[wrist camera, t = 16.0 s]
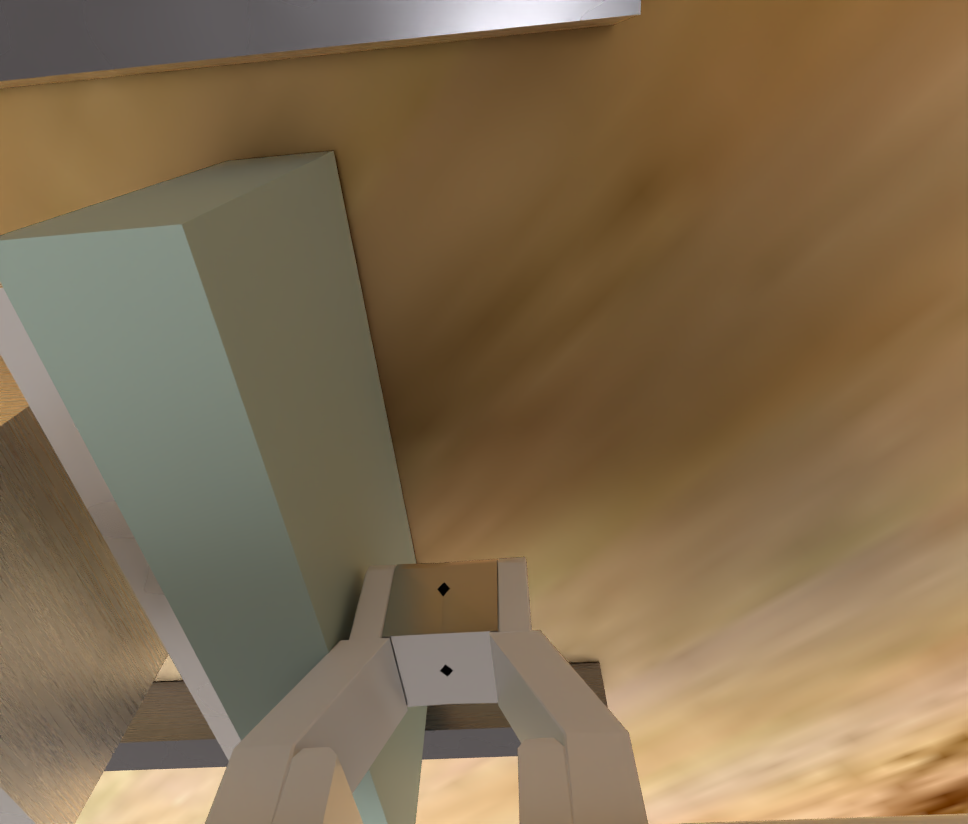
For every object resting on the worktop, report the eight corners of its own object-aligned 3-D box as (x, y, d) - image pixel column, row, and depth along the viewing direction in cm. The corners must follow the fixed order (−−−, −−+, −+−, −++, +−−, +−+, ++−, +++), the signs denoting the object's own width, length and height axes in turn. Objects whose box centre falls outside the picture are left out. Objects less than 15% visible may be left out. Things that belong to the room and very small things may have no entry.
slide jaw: (333, 150, 11) (182, 224, 5) (433, 647, 18) (408, 885, 12) (196, 164, 11) (-80, 246, 6) (349, 651, 18) (291, 888, 13)
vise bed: (617, -90, 9) (821, -359, 3) (598, 691, 19) (643, 947, 14) (-712, 62, 10) (-2148, 49, 5) (-71, 719, 20) (-285, 964, 15)
